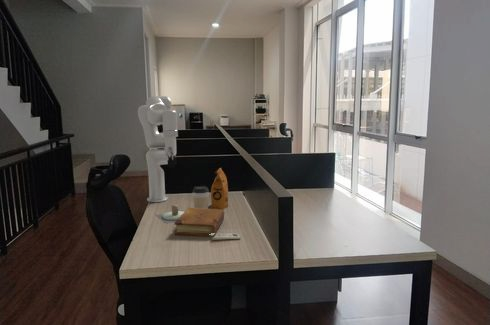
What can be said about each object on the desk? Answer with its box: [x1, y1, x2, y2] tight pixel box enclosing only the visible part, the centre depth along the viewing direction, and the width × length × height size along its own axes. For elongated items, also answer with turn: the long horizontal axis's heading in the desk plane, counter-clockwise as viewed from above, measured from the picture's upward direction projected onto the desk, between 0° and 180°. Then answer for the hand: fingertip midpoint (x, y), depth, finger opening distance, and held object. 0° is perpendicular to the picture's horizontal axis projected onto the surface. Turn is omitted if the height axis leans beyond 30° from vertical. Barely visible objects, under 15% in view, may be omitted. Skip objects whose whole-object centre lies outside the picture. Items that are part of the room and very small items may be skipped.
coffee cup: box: [191, 185, 210, 209], centre depth 202 cm, size 9×9×15 cm
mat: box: [155, 210, 186, 224], centre depth 196 cm, size 16×16×1 cm
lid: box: [162, 204, 184, 220], centre depth 195 cm, size 13×13×6 cm
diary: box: [174, 207, 225, 237], centre depth 180 cm, size 23×19×6 cm
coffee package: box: [210, 167, 229, 210], centre depth 215 cm, size 10×12×22 cm
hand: (172, 166), depth 197 cm, fingers open, 9 cm apart
